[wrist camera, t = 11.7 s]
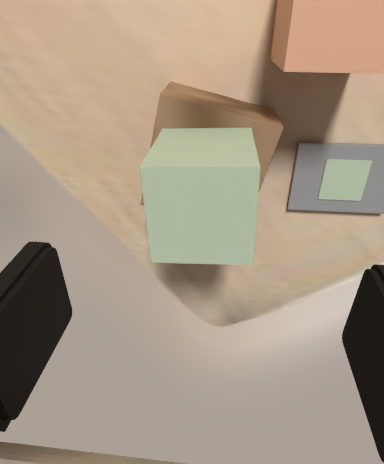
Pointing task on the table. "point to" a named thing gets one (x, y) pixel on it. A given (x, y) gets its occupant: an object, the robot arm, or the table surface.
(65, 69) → the table surface
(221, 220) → the sage block
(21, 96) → the table surface
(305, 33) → the terracotta block
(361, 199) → the card
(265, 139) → the walnut base
